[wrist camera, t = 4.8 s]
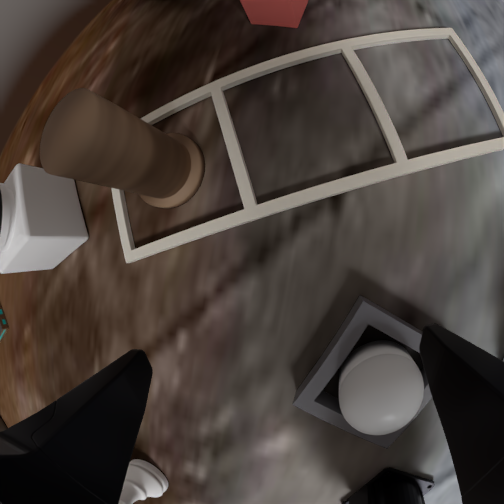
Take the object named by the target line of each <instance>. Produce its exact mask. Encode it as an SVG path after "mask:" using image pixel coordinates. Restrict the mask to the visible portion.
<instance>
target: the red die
mask: <svg viewBox="0 0 504 504" xmlns="http://www.w3.org/2000/svg"><path fill="white" fill-rule="evenodd" d="M240 2H241V4H242V6H243V8H244V10H245V12H246V14H247V16H248V18H249V20H250V22H251V24H258V25H272V26H282V27H291V28H298V25H299V23H300V20H301V18H302V15H303V13H304V10H305V8H306V5H307V3H308V0H240Z"/></svg>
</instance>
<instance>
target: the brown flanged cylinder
mask: <svg viewBox="0 0 504 504" xmlns="http://www.w3.org/2000/svg"><path fill="white" fill-rule="evenodd" d="M40 161H41V165H42V167H43V169H44V171H45V172H46V173H48V174H50V175H55V176H59V177H64V178H69V179H74V180H78V181H83V182H88V183H92V184H97V185H101V186H106V187H110V188H115V189H119V190H124V191H128V192H132V193H137V194H139V195H140V197H141V198H142V199H143V200H144V201H145V202H146V203H148V204H150V205H152V206H155V207H161V208H175V207H178V206H181V205H183V204H184V203H186V202H187V201H189V200H190V199H191V198H192V197H193V196H194V195H195V193H196V192H197V191H198V189H199V187H200V185H201V183H202V180H203V177H204V172H205V161H204V156H203V153H202V151H201V149H200V148H199V146H198V145H197V144H196V143H195V142H193V141H192V140H191V139H189V138H188V137H186V136H184V135H182V134H179V133H166V134H165V133H164V132H162V131H160V130H159V129H157V128H155V127H154V126H152V125H150V124H149V123H147V122H145V121H143V120H142V119H140V118H138V117H137V116H135V115H133V114H131V113H130V112H128V111H126V110H124V109H123V108H121V107H119V106H117V105H116V104H114V103H112V102H110V101H108V100H107V99H105V98H103V97H101V96H99V95H97V94H96V93H94V92H92V91H90V90H88V89H86V88H79V89H76V90H74V91H72V92H70V93H68V94H67V95H66V96H65V97H64V98H63V99H62V100H61V101H60V102H59V103H58V104H57V106H56V107H55V108H54V110H53V111H52V113H51V115H50V116H49V118H48V120H47V123H46V125H45V127H44V130H43V134H42V137H41V142H40Z"/></svg>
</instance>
